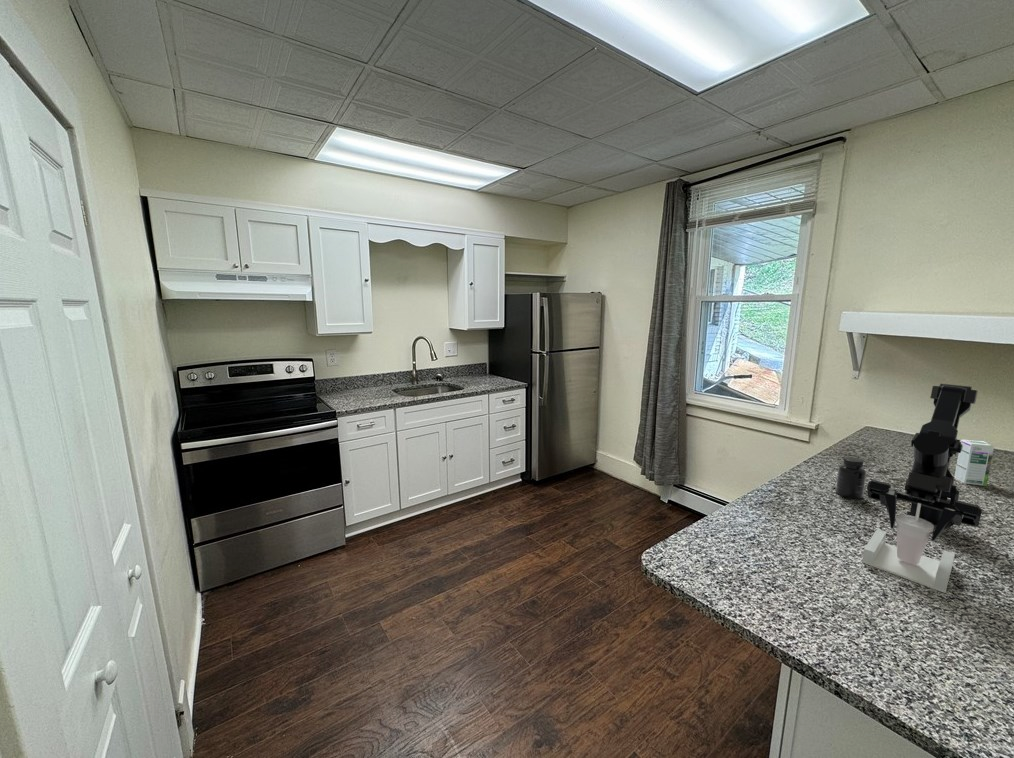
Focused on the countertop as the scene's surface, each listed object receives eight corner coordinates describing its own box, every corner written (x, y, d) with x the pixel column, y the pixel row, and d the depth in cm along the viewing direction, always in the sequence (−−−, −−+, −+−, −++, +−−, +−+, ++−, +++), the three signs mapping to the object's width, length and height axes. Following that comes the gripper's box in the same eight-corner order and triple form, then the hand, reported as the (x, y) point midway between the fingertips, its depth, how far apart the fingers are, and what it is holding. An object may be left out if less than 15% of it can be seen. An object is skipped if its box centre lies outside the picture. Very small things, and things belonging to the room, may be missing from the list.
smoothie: (934, 565, 93) (945, 508, 91) (914, 569, 92) (924, 512, 89) (902, 549, 99) (911, 495, 97) (882, 553, 98) (891, 499, 95)
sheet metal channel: (874, 541, 105) (877, 529, 105) (952, 567, 95) (955, 553, 94) (861, 562, 96) (864, 548, 96) (945, 593, 86) (948, 578, 85)
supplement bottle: (856, 491, 134) (862, 457, 132) (867, 501, 127) (873, 464, 125) (831, 488, 136) (836, 454, 134) (840, 497, 130) (845, 461, 128)
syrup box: (964, 483, 140) (972, 443, 138) (953, 477, 146) (961, 438, 143) (986, 486, 138) (995, 445, 136) (974, 479, 144) (983, 440, 141)
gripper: (874, 448, 101) (856, 503, 96) (990, 471, 87) (976, 537, 82) (876, 470, 107) (860, 523, 102) (984, 495, 93) (971, 558, 88)
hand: (911, 534), depth 93 cm, fingers open, 6 cm apart
